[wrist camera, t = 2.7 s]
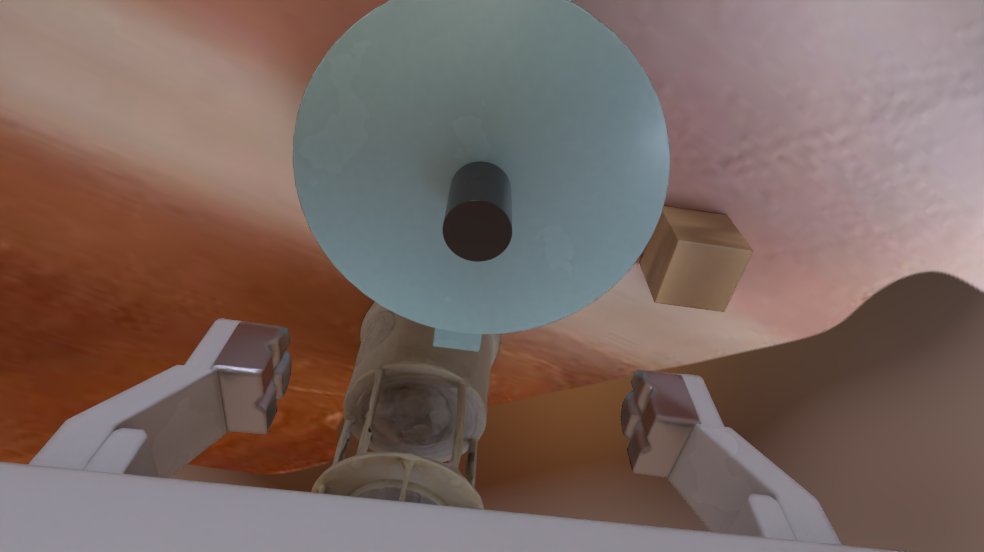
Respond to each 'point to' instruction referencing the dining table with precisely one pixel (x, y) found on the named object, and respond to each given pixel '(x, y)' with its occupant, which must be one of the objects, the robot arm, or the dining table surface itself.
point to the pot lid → (481, 160)
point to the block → (694, 259)
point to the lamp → (411, 416)
